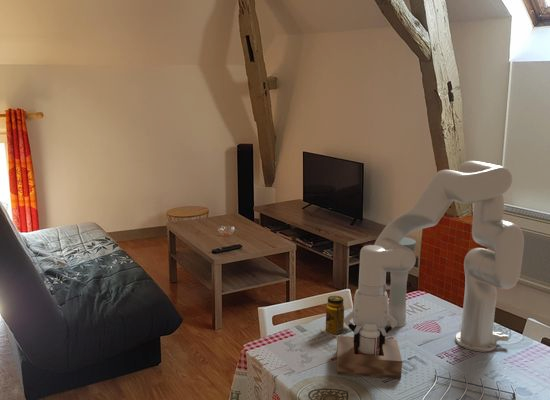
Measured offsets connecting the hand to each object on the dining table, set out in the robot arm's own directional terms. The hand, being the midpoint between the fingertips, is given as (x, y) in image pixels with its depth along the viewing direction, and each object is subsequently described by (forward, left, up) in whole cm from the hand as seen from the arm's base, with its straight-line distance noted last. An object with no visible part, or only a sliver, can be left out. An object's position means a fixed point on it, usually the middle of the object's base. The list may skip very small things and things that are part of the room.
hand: (369, 344), depth 153 cm
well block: (0, 0, -6) cm, 6 cm away
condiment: (+9, -21, -7) cm, 24 cm away
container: (-12, -30, -7) cm, 33 cm away
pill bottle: (0, 0, -4) cm, 4 cm away
